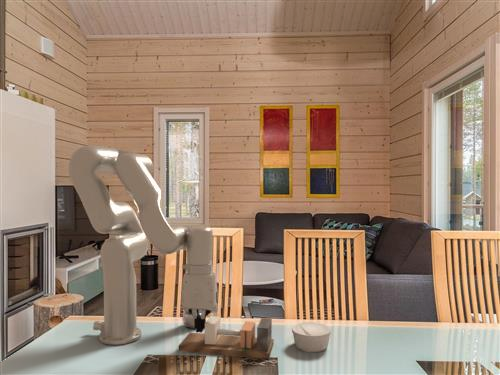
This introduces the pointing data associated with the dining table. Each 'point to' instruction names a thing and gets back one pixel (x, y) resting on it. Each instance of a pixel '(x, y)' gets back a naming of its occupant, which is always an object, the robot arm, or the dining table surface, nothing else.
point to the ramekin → (311, 336)
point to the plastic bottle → (189, 319)
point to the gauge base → (233, 343)
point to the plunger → (216, 330)
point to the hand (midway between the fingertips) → (200, 330)
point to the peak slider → (247, 335)
